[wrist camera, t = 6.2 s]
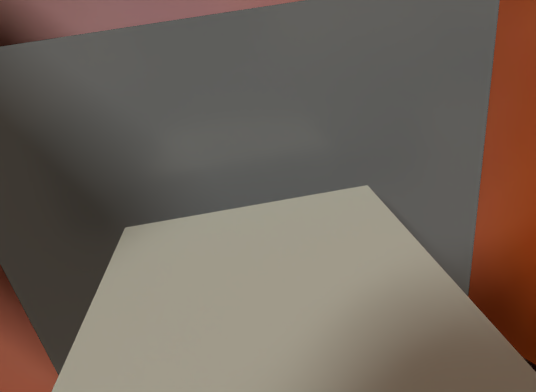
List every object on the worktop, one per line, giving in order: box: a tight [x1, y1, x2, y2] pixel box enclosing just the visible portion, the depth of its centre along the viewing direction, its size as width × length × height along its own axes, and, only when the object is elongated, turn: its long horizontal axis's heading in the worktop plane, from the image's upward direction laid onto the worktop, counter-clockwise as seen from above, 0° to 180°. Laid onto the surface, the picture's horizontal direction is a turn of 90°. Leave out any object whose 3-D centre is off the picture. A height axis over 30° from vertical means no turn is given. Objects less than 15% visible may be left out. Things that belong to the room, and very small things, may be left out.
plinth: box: [0, 0, 499, 375], centre depth 12 cm, size 12×12×3 cm
